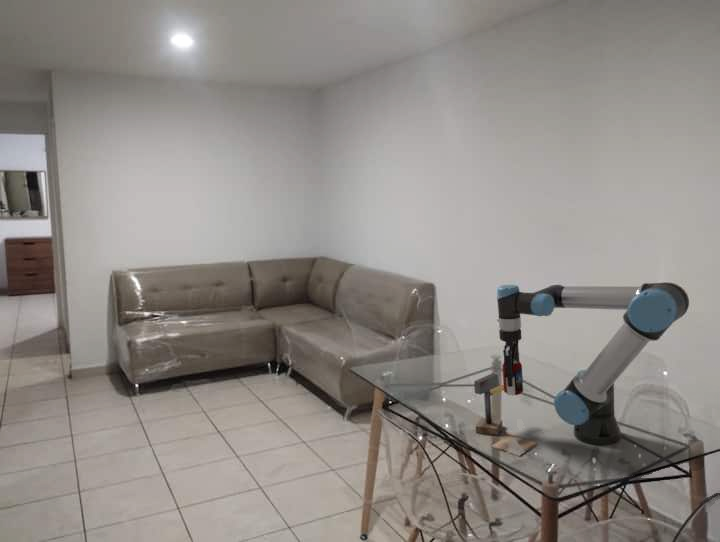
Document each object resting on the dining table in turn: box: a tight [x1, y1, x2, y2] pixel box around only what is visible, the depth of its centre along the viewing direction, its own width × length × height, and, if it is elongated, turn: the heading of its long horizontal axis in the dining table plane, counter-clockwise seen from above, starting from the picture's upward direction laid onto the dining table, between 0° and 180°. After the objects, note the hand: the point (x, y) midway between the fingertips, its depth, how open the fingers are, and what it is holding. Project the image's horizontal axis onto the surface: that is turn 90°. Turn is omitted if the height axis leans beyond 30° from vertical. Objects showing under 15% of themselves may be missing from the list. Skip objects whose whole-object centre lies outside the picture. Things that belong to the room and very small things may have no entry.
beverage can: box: [502, 359, 524, 396], centre depth 207 cm, size 7×7×12 cm
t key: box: [473, 372, 504, 424], centre depth 215 cm, size 16×2×17 cm, turn 131°
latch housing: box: [475, 417, 503, 436], centre depth 215 cm, size 8×8×2 cm
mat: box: [491, 434, 538, 453], centre depth 200 cm, size 11×11×1 cm
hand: (513, 390), depth 208 cm, fingers closed on beverage can, 7 cm apart
